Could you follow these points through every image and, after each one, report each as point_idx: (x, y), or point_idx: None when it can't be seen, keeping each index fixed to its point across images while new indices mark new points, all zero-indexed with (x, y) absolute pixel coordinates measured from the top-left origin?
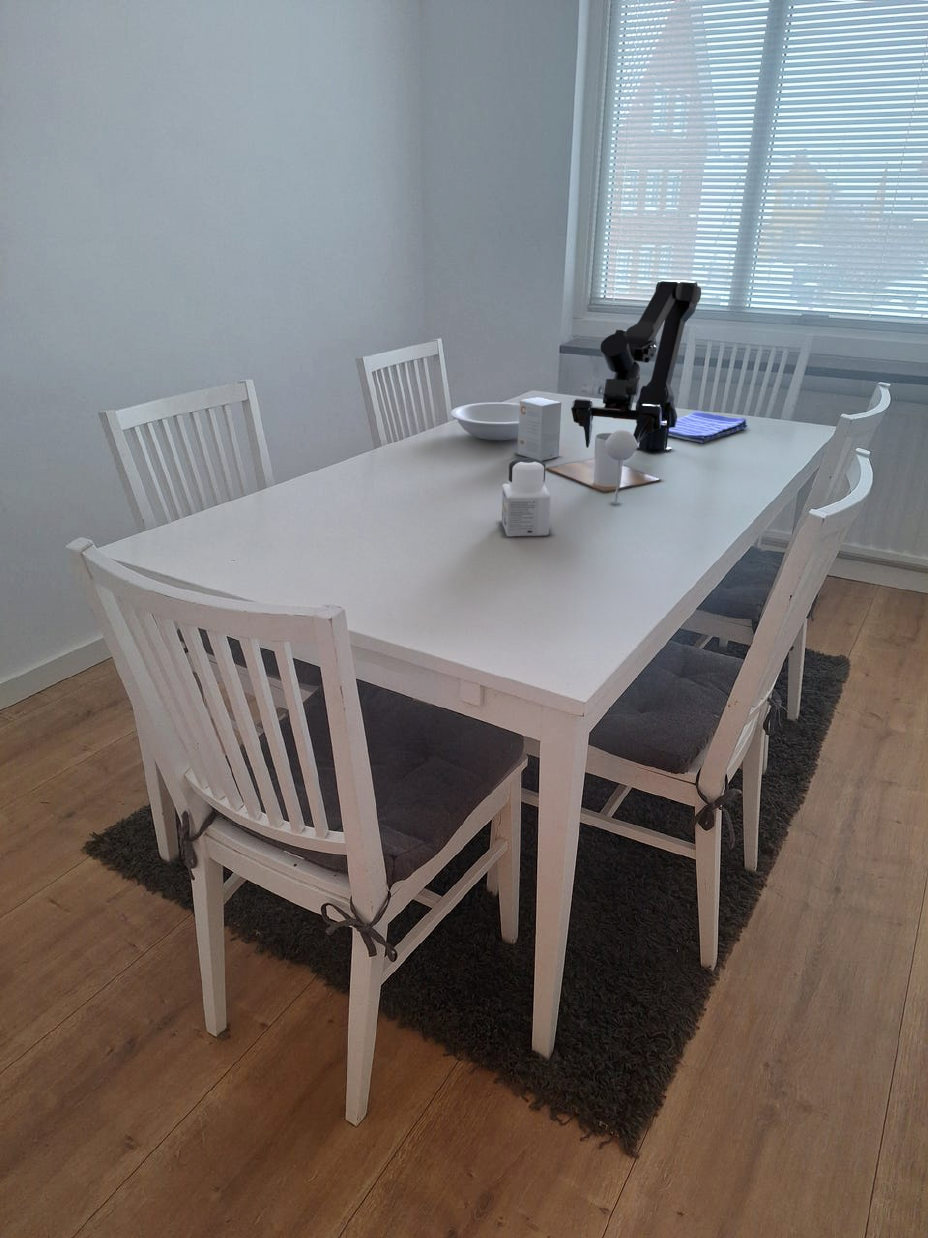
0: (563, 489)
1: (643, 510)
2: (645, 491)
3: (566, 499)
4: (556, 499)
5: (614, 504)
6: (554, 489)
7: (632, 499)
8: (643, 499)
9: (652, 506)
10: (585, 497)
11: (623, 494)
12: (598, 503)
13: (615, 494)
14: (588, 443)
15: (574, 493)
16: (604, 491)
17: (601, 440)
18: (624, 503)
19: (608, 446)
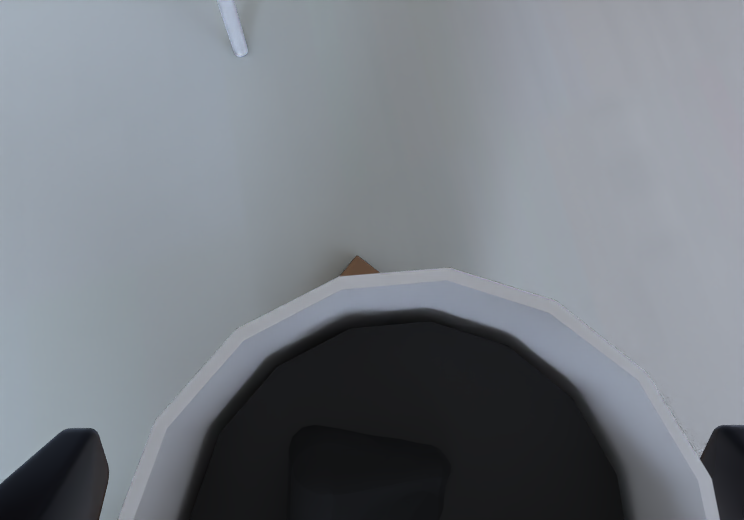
0: (638, 233)
1: (57, 4)
2: (64, 402)
3: (553, 47)
4: (610, 28)
5: (247, 49)
6: (693, 212)
7: (144, 185)
8: (69, 211)
9: (2, 92)
10: (453, 121)
11: (218, 271)
12: (348, 39)
13: (235, 5)
14: (733, 469)
15: (543, 176)
16: (355, 257)
17: (534, 298)
18: (188, 90)
19: None
